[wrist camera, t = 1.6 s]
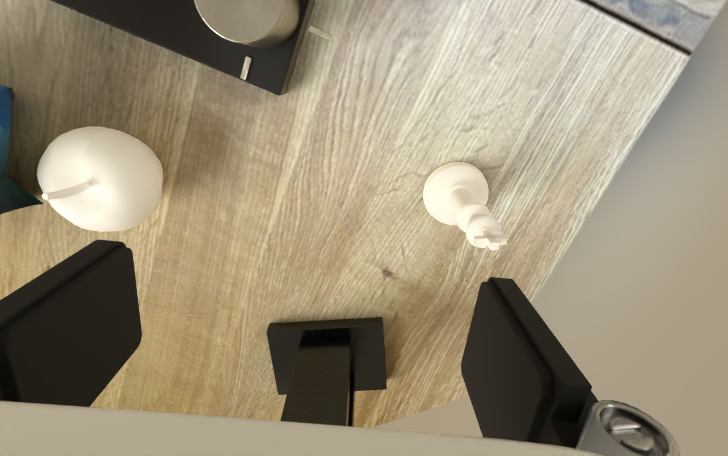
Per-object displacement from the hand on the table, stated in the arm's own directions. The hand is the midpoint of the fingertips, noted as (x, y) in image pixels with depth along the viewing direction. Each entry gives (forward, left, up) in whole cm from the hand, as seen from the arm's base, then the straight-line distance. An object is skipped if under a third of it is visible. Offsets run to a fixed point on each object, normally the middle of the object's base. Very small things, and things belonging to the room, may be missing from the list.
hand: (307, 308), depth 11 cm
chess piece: (-8, +3, -20) cm, 22 cm away
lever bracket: (+3, +18, -20) cm, 27 cm away
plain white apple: (+16, 0, -20) cm, 26 cm away
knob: (+4, -10, -18) cm, 21 cm away
